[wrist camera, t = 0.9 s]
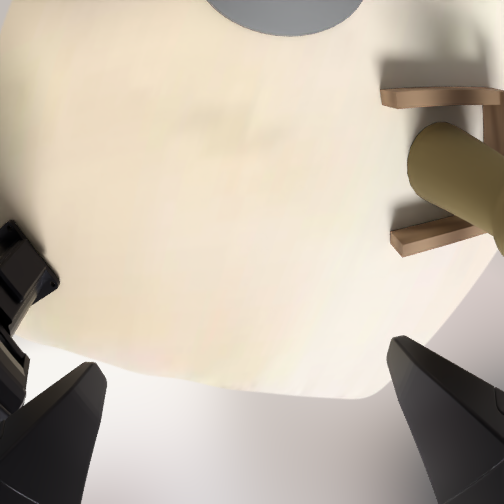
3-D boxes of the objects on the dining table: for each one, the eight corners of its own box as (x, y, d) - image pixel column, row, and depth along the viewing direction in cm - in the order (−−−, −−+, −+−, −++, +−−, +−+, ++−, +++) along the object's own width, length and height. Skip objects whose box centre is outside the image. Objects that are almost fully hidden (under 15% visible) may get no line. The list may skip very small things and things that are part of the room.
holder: (390, 243, 22) (415, 273, 19) (380, 89, 16) (414, 95, 13) (486, 217, 22) (515, 240, 18) (489, 87, 16) (527, 96, 13)
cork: (401, 202, 20) (502, 298, 11) (411, 116, 17) (542, 170, 8) (462, 202, 21) (559, 282, 11) (475, 127, 18) (592, 182, 8)
